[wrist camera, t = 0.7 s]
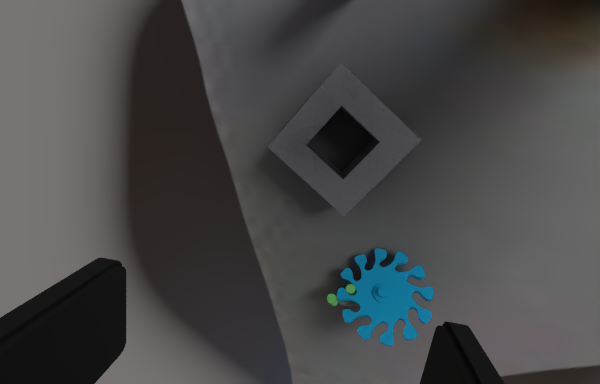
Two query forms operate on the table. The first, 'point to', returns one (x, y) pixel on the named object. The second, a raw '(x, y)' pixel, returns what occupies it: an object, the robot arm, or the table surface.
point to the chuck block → (372, 158)
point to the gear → (383, 296)
